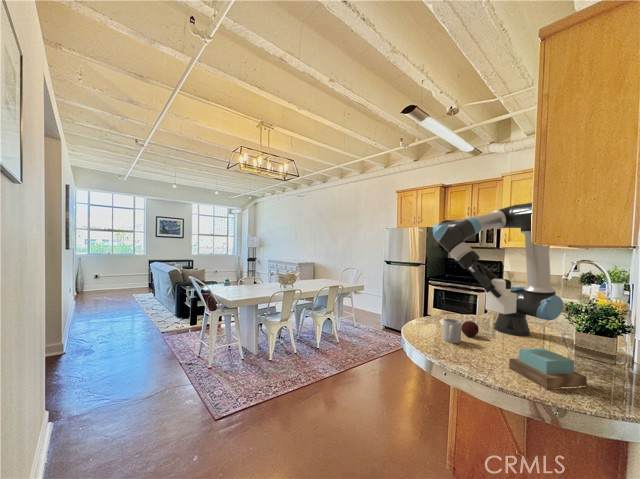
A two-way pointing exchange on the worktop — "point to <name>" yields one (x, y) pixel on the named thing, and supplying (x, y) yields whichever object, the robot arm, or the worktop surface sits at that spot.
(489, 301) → the medicine bottle
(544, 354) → the tower top block
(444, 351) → the worktop surface
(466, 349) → the worktop surface
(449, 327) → the cup
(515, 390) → the worktop surface
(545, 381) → the tower base slab
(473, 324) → the dark red textured ball
